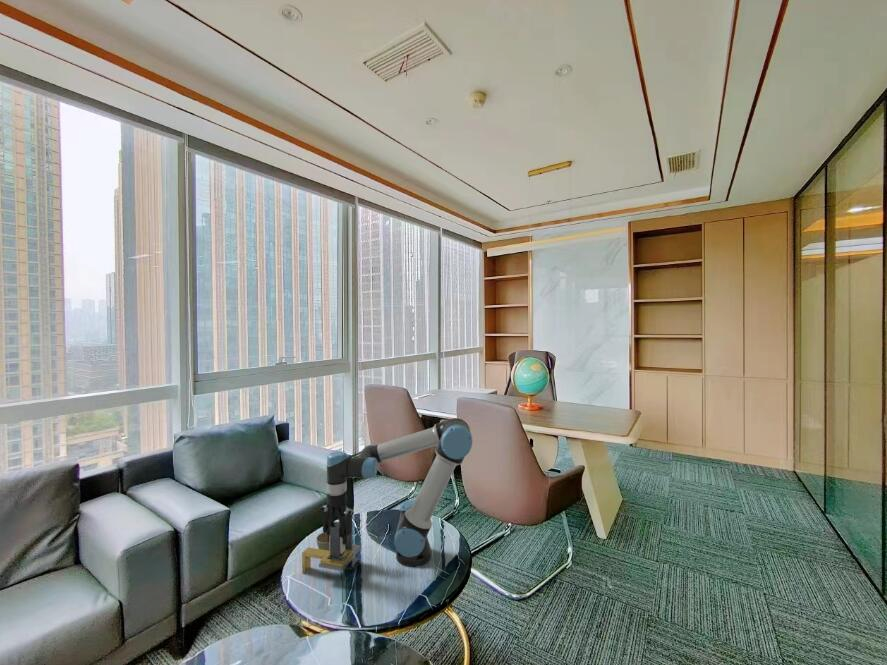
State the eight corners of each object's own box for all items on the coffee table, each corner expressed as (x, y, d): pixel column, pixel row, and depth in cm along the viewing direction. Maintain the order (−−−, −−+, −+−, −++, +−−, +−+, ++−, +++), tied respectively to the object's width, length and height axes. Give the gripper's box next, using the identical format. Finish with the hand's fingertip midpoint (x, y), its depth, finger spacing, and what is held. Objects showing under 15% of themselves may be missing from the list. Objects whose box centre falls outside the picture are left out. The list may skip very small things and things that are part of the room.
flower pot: (333, 561, 161) (333, 544, 161) (311, 558, 163) (311, 541, 163) (344, 547, 171) (344, 531, 171) (323, 545, 173) (323, 529, 173)
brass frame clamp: (362, 560, 161) (362, 508, 161) (342, 586, 145) (341, 528, 145) (321, 553, 166) (320, 503, 166) (297, 577, 150) (297, 522, 150)
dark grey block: (339, 558, 149) (339, 527, 149) (330, 557, 150) (330, 526, 150) (344, 552, 153) (344, 522, 152) (335, 551, 154) (335, 521, 153)
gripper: (361, 490, 152) (361, 548, 153) (323, 486, 157) (323, 542, 157) (351, 498, 145) (352, 559, 145) (312, 493, 149) (312, 553, 150)
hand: (337, 550), depth 151 cm, fingers closed on dark grey block, 4 cm apart
